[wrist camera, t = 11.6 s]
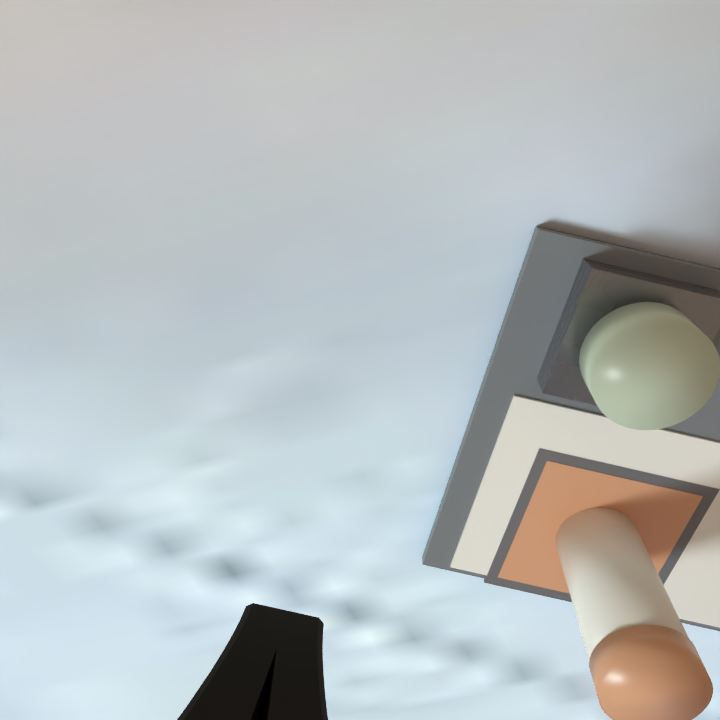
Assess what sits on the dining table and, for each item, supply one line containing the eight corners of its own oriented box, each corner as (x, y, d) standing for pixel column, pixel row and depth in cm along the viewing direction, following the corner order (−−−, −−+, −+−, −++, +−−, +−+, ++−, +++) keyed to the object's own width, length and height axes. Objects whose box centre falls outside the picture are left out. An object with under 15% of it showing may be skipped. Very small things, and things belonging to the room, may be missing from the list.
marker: (650, 513, 21) (730, 666, 16) (623, 576, 23) (689, 737, 17) (566, 500, 21) (618, 648, 16) (544, 563, 23) (585, 719, 17)
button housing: (717, 289, 18) (733, 301, 17) (659, 406, 20) (670, 422, 19) (583, 258, 18) (591, 268, 17) (536, 378, 20) (542, 393, 19)
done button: (700, 301, 18) (743, 337, 16) (654, 395, 19) (686, 441, 17) (593, 276, 18) (619, 308, 15) (554, 372, 19) (573, 415, 17)
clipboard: (1031, 342, 18) (1048, 349, 18) (799, 643, 24) (807, 655, 23) (535, 226, 18) (539, 230, 17) (421, 558, 24) (421, 568, 23)
